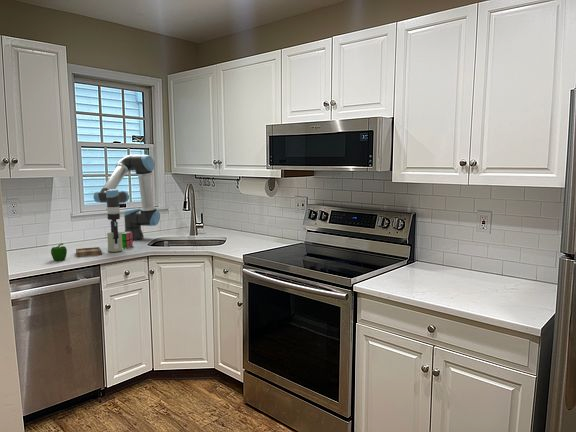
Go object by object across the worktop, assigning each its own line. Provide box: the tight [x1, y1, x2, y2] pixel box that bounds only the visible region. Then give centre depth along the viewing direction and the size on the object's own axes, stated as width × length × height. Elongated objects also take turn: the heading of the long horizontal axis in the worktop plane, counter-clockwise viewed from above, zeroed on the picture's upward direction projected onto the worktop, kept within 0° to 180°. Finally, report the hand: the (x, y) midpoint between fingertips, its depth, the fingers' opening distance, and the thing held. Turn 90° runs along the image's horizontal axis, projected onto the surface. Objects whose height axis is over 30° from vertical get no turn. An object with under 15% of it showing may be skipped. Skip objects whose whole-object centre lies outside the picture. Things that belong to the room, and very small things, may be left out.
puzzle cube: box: [121, 231, 134, 249], centre depth 309 cm, size 10×10×10 cm
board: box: [75, 246, 103, 258], centre depth 283 cm, size 14×14×3 cm
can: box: [106, 231, 124, 253], centre depth 291 cm, size 9×9×12 cm
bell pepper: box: [50, 243, 68, 262], centre depth 265 cm, size 8×8×10 cm
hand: (115, 247), depth 292 cm, fingers closed on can, 9 cm apart
